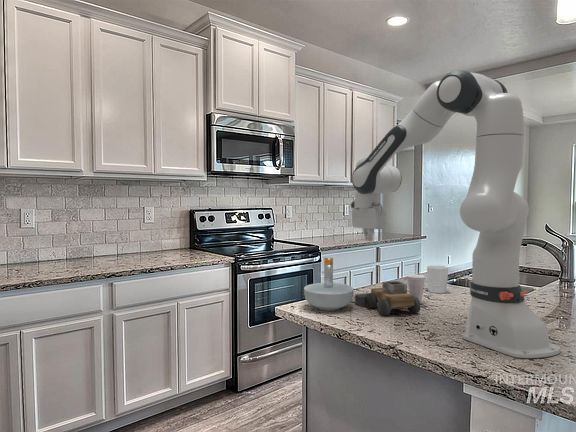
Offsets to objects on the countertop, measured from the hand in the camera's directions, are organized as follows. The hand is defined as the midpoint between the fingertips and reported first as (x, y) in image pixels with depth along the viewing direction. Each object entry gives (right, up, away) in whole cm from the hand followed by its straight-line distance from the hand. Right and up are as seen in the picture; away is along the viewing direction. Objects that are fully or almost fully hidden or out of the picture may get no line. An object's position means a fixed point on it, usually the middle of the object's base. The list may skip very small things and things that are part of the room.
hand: (368, 240), depth 147 cm
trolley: (+5, -22, -14) cm, 27 cm away
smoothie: (+16, -22, -4) cm, 28 cm away
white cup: (+30, -21, +13) cm, 39 cm away
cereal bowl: (-16, -23, -10) cm, 29 cm away
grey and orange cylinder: (-16, -15, -10) cm, 24 cm away
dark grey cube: (-3, -22, -6) cm, 23 cm away
